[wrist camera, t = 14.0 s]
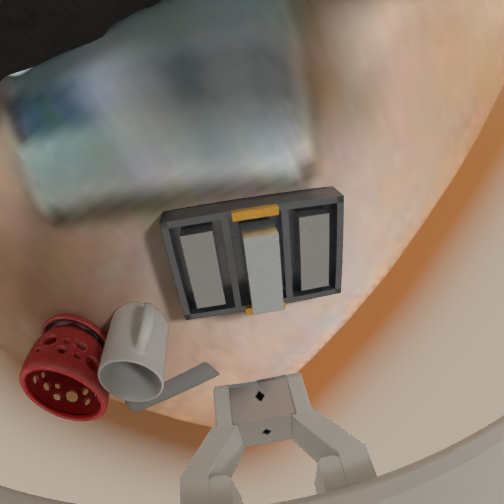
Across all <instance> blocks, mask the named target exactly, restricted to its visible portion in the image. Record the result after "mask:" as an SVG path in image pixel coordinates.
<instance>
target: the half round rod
mask: <svg viewBox="0 0 504 504" xmlns="http://www.w3.org/2000/svg"><path fill="white" fill-rule="evenodd" d="M218 375H220V374H219V373H218V372H217V371H216V370H214V369H213V368H212V367H211V366H210V365H209V364H207V363H206V362H204V363H202V364H200V365H198V366H196V367H194V368H192V369H190V370H188V371H186V372H184V373H182V374H180V375H178V376H176V377H174V378H172V379H170V380H168V381H166V382H164V388H163V391H162V392H161V394H160V395H159V396H158V397H156V398H154V399H152V400H149V401H144V402H132V401H127V400H126V403H127V405H128V407H129V408H130V409H131V410H132V411H134V412H138V411H141V410H143V409H146V408H148V407H150V406H153V405H155V404H157V403H160V402H162V401H164V400H167V399H169V398H171V397H173V396H175V395H178V394H180V393H182V392H184V391H186V390H189V389H191V388H193V387H195V386H197V385H199V384H201V383H204V382H206V381H208V380H210V379H212V378H214V377H216V376H218Z"/></svg>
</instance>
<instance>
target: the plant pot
mask: <svg viewBox="0 0 504 504" xmlns="http://www.w3.org/2000/svg"><path fill="white" fill-rule="evenodd" d="M106 338H107V337H106V336H105V335H104V333H103V332H102V331H101V330H100V329H99V328H98V327H97V326H96V325H94V324H93V323H91V322H90V321H88V320H86V319H84V318H82V317H79V316H75V315H68V314H63V315H57V316H55V317H53V318H51V319H49V320H48V321H47V322H46V323H45V325H44V327H43V329H42V336H41V337H40V338H39V339H38V340H37V341H36V342H35V344H34V345H33V347H32V348H31V350H30V352H29V354H28V356H27V358H26V360H25V362H24V364H23V367H22V370H21V373H20V384H21V387H22V389H23V390H24V392H25V393H26V395H27V396H28V397H29V398H30V399H31V400H32V401H33V402H34V403H36V404H37V405H38V406H40V407H41V408H43V409H44V410H46V411H48V412H50V413H52V414H54V415H56V416H59V417H62V418H65V419H69V420H75V421H90V420H95V419H97V418H100V417H101V416H102V415H103V414H104V413H105V412H106V409H107V404H108V398H109V392H108V391H106V390H105V389H104V388H103V387H102V385H101V384H100V382H99V379H98V368H99V364H100V360H101V356H102V353H103V349H104V345H105V342H106ZM42 372H43V373H44V374H45V377H44V378H42V376H41V373H42ZM34 376H35V377H36V380H37V382H36V384H35V383H34V382H33V377H34ZM44 383H47V384H48V385H49V390H48V391H47V390H45V389H44V387H43V384H44ZM55 384H59V386H60V388H59V389H57V388H56V387H55ZM85 389H88V390H89V392H88V394H87V395H83V390H85ZM69 391H73V392H75V393H77V395H78V400H77V401H76V402H70V401H68V400H67V398H66V393H67V392H69ZM54 394H58V395H59V396H60V397H61V399H60V400H59V401H58V400H55V399H54V397H53V395H54ZM94 394H95V395H96V396H95V395H94ZM88 399H90V403H89V404H88V405H85V401H86V400H88ZM98 400H99V401H98Z"/></svg>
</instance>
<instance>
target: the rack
mask: <svg viewBox="0 0 504 504" xmlns="http://www.w3.org/2000/svg"><path fill="white" fill-rule="evenodd" d="M343 215H344V195H342V194H341V193H340V192H339V191H338V190H336V189H335V188H334V187H333V186H332V187H323V188H315V189H307V190H299V191H291V192H284V193H276V194H269V195H262V196H255V197H248V198H242V199H235V200H229V201H222V202H216V203H210V204H204V205H198V206H192V207H186V208H181V209H175V210H169V211H164V212H163V214H162V217H161V220H160V227H161V231H162V235H163V239H164V243H165V247H166V251H167V255H168V259H169V262H170V266H171V270H172V274H173V277H174V281H175V285H176V288H177V292H178V295H179V299H180V302H181V306H182V309H183V313H184V316H185V319H186V320H190V319H196V318H203V317H210V316H216V315H222V314H228V313H235V312H241V311H246V315H250V314H253V310H252V306H251V302H250V298H249V293H248V289H247V284H246V277H245V269H244V262H243V255H242V248H241V240H240V233H239V226H238V221H242V220H248V219H254V218H261V217H268V216H270V217H271V219H272V221H273V223H274V225H275V227H276V229H277V231H278V233H279V246H280V259H281V274H282V289H283V304H284V308H285V304H286V303H291V302H296V301H302V300H307V299H312V298H317V297H322V296H327V295H332V294H336V293H341V276H342V254H343Z"/></svg>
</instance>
